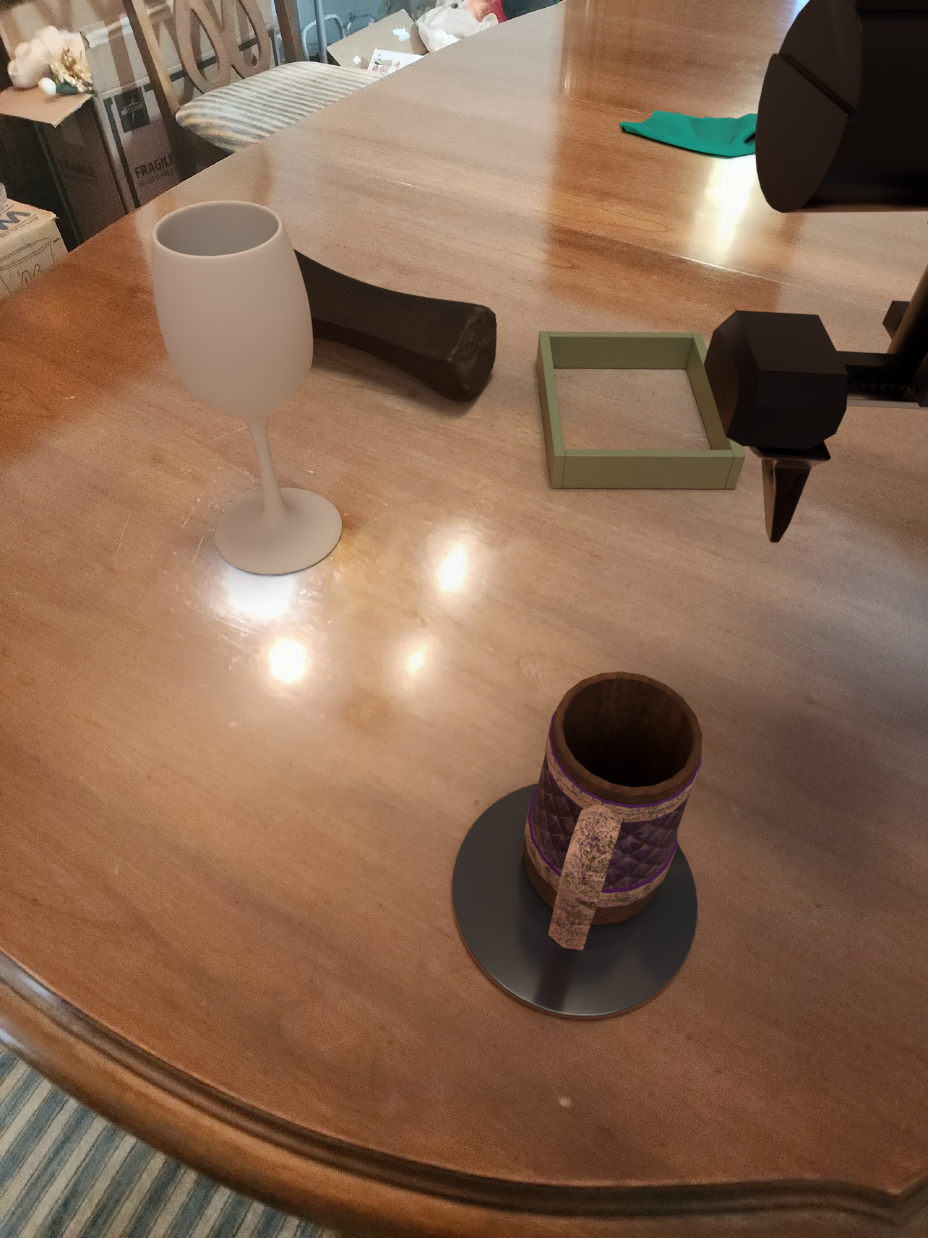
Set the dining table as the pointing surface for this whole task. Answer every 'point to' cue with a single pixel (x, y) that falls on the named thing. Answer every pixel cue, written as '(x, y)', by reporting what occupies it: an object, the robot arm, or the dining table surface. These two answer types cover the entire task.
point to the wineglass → (243, 361)
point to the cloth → (700, 132)
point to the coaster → (520, 920)
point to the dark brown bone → (404, 329)
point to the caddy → (624, 464)
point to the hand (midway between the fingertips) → (867, 541)
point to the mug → (609, 800)
